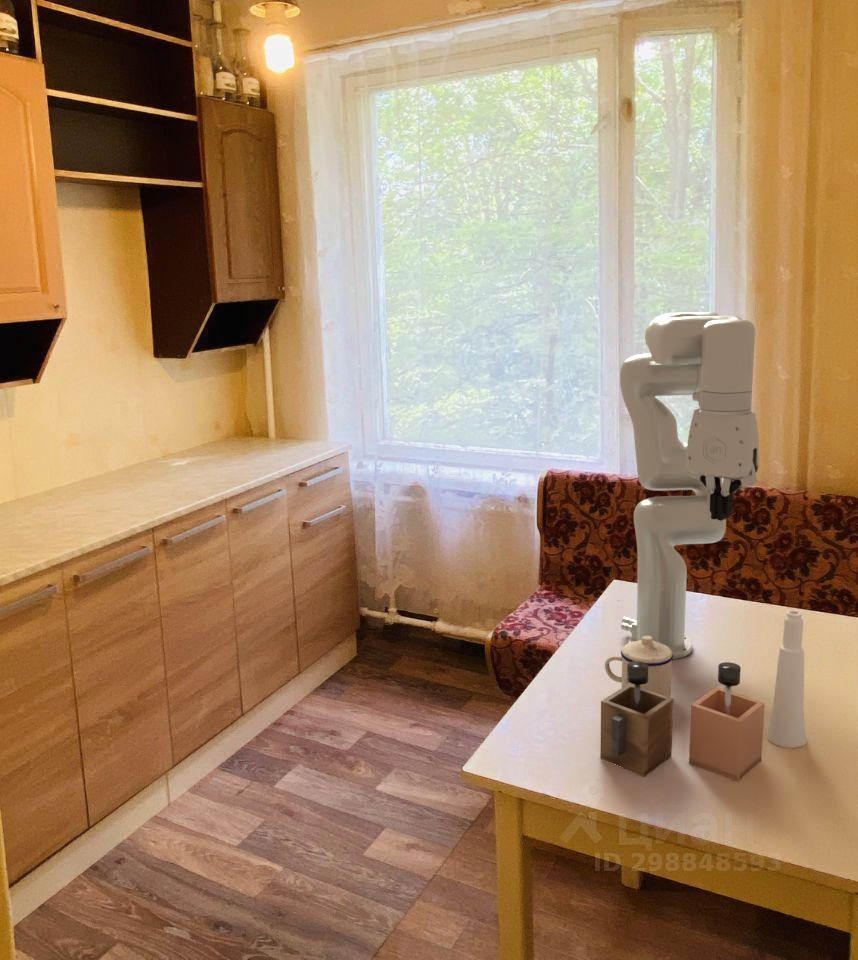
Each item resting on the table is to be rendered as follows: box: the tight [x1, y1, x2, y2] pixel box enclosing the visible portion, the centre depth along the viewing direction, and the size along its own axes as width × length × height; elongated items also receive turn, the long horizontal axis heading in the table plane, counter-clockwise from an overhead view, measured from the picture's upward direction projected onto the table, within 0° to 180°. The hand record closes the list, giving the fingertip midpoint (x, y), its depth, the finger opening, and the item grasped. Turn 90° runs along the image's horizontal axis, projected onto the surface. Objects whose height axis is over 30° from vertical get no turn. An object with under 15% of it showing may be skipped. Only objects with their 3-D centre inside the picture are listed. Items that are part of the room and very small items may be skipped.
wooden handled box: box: [599, 684, 674, 778], centre depth 138 cm, size 8×10×10 cm
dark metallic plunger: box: [627, 661, 649, 712], centre depth 138 cm, size 6×6×14 cm
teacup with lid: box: [604, 636, 674, 698], centre depth 158 cm, size 12×9×12 cm
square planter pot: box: [688, 686, 766, 783], centre depth 137 cm, size 8×10×10 cm
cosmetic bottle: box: [765, 609, 807, 749], centre depth 141 cm, size 6×6×22 cm
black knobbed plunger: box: [717, 661, 741, 715], centre depth 135 cm, size 6×6×14 cm
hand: (720, 517), depth 138 cm, fingers closed
